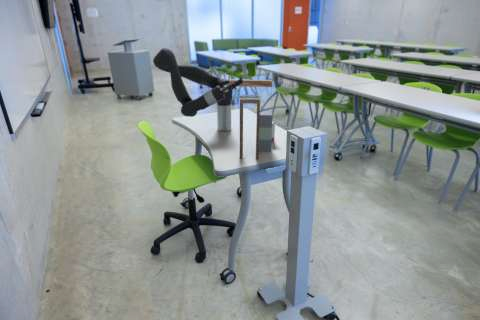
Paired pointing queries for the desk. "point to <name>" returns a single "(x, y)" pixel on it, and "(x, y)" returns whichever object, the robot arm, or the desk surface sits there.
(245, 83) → the terracotta bar
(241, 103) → the walnut stand
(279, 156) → the desk surface
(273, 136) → the ink box
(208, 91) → the robot arm
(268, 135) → the block tower
